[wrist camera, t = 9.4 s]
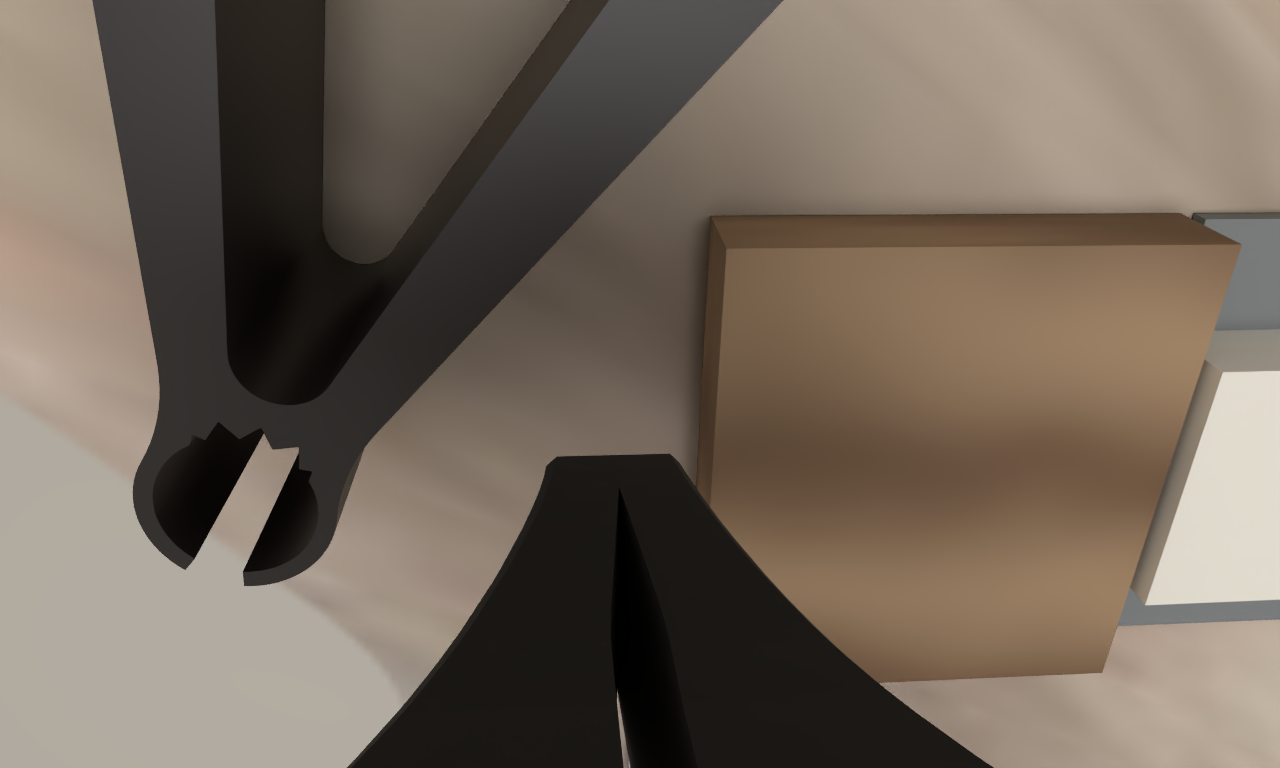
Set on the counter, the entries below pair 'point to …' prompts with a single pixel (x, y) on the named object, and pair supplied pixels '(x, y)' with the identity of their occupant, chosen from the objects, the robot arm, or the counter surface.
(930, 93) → the counter surface
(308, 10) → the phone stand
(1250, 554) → the cream rectangular tile
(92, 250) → the counter surface
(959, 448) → the brown block
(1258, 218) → the mat
